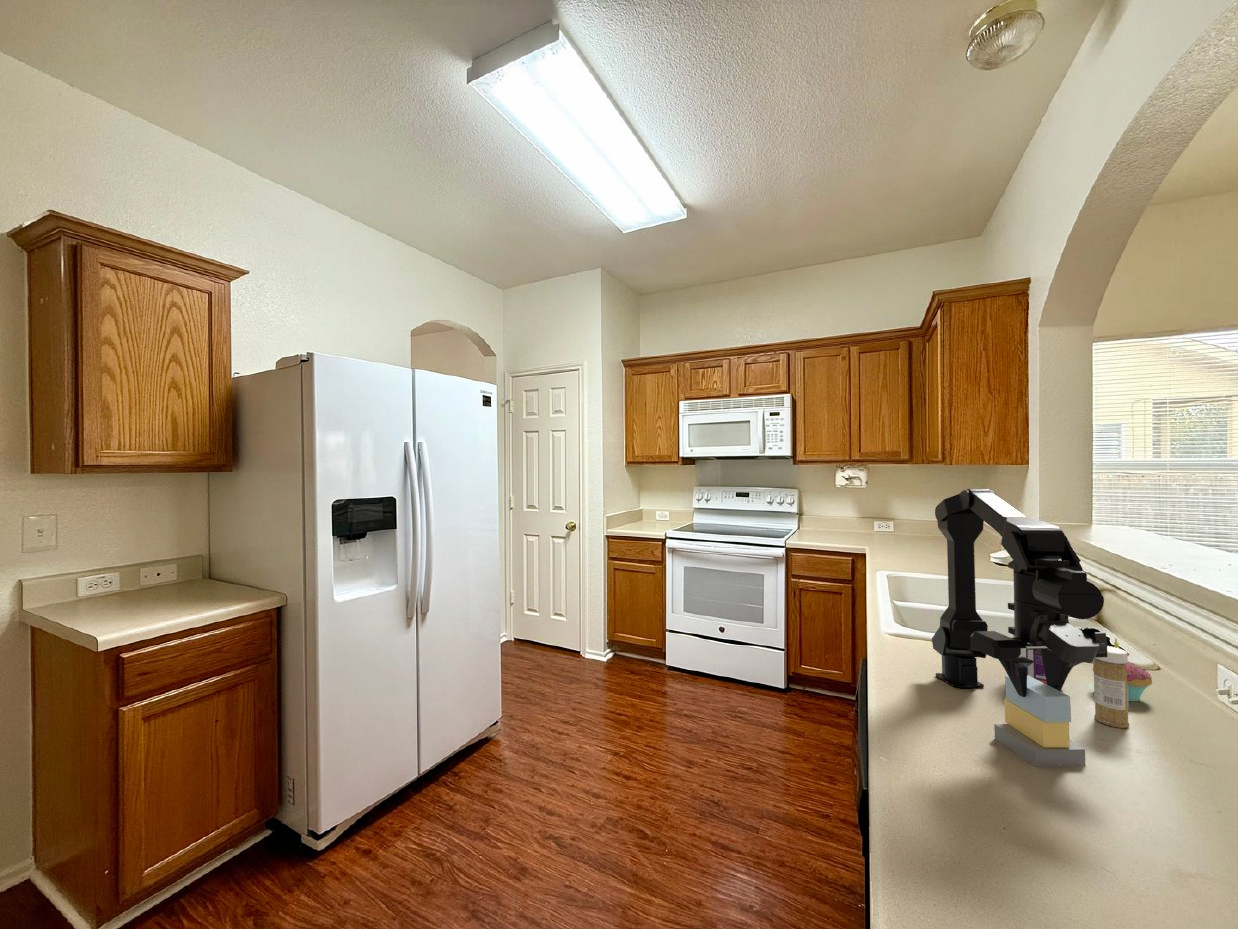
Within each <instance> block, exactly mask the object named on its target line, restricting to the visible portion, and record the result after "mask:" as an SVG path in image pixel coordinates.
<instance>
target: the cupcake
mask: <svg viewBox="0 0 1238 929" xmlns="http://www.w3.org/2000/svg"><path fill="white" fill-rule="evenodd" d="M1114 640H1115V641H1114V642H1113V644H1114V646H1113V647H1115V648H1119V649H1120V643H1119V641H1117V640H1118V639H1117V638H1114ZM1092 671H1093V673H1094V663H1092ZM1126 671H1127V690H1128V702H1138V701H1140V699H1141V696H1142V694H1143V692H1144V691H1145V689H1147V688H1148V687H1149V686H1151V685H1153V681H1152V680H1153V677H1152V676H1151V674H1150V673H1149V672H1148V671H1147V670H1146V669H1144V668H1142V667H1141V666H1139V665H1138V664H1136V663H1133V662H1130V661H1128V662H1127V665H1126Z"/></svg>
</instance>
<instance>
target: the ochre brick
mask: <svg viewBox="0 0 1238 929" xmlns="http://www.w3.org/2000/svg"><path fill="white" fill-rule="evenodd" d="M1004 723H1005V724H1009V725H1010V726H1012V727H1013V728H1015V729H1017V730H1018V731H1020V732H1021V733H1023V734H1024V735H1026V736H1027V737H1029V738H1030V739H1032V740H1033V741H1035V742H1036V743H1038V744H1039V745H1041V746H1042V747H1062V748H1070V741H1071V740H1070V722H1044V721H1042V720H1040V719H1039V718H1037V717H1035V716H1034V715H1032V714H1030V713H1029V712H1027V711H1025V710H1024V709H1022V708H1020V707H1019V706H1017V705H1015V704H1013V703H1012V702H1010V701H1008V700H1007V699H1006V698H1004Z"/></svg>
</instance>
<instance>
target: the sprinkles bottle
mask: <svg viewBox="0 0 1238 929" xmlns="http://www.w3.org/2000/svg"><path fill="white" fill-rule="evenodd" d="M1107 656H1108V657H1095V658H1094V661H1093V664H1094V672H1093V692H1094V700H1093V701H1094V709H1095V712H1094V718H1095V720H1096V721H1098V722H1099V723H1101V724H1104V725H1106V726H1109V727H1113V728H1118V729H1124V728H1126V729H1127V728H1129V727H1130V723H1129V701H1128V690H1127V671H1126V665H1127V662H1129V661H1128V660H1129V659H1128V658H1129V656H1128V652H1127V651H1126V650H1124V649H1122V648H1120V647H1119V648H1115V647H1114V646H1110V645H1107Z"/></svg>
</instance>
